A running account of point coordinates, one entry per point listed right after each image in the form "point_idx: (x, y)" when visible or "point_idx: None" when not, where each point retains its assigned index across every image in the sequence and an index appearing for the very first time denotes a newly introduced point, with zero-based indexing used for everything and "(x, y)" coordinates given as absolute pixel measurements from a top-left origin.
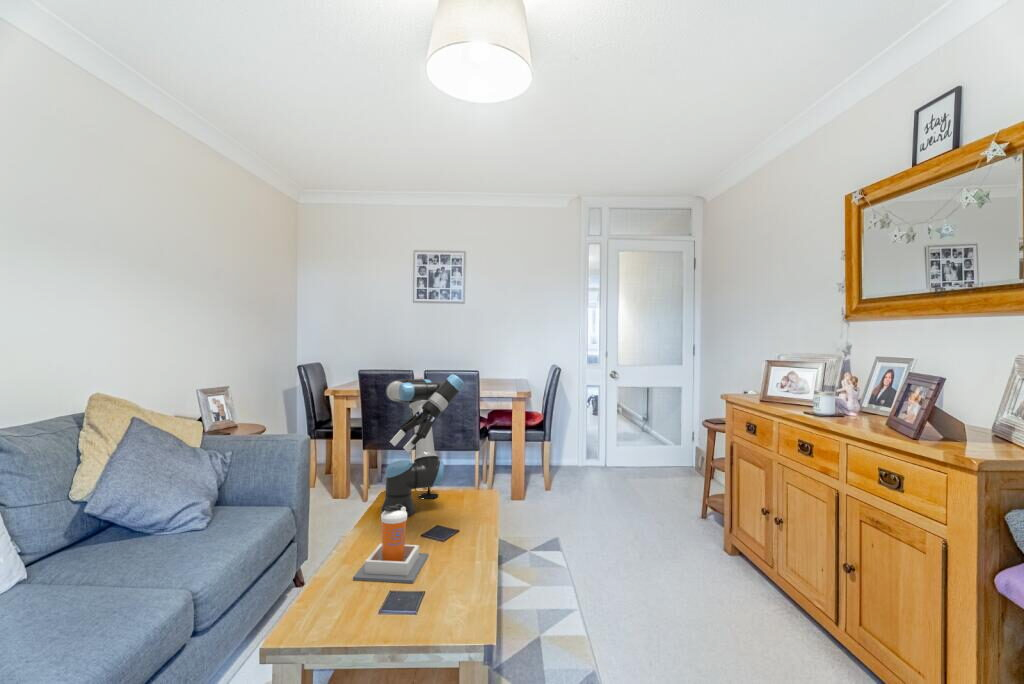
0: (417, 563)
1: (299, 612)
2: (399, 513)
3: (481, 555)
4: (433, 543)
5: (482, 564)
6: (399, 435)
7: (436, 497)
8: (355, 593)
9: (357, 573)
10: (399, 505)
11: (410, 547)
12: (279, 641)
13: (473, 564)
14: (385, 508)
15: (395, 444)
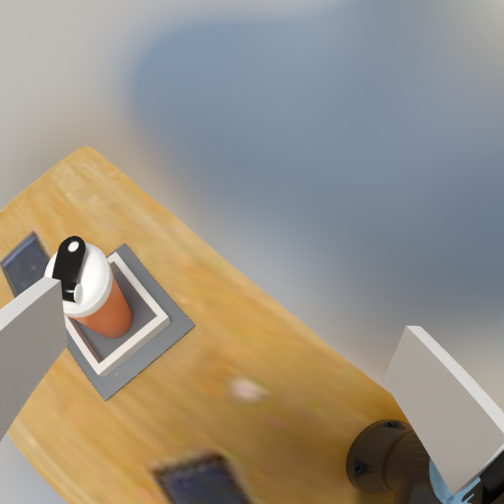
0: (82, 354)
1: (111, 170)
2: (47, 271)
3: (48, 468)
4: (157, 450)
5: (21, 438)
6: (450, 417)
7: None
8: (90, 231)
9: (130, 253)
10: (63, 283)
11: (107, 358)
12: (83, 148)
13: (29, 429)
14: (78, 242)
15: (390, 383)
